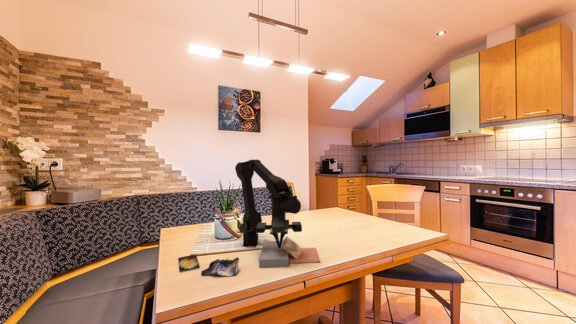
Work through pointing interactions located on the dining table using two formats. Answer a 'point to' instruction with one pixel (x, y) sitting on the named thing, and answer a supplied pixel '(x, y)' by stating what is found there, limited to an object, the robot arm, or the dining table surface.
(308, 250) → the terracotta mat
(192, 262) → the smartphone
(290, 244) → the birch tile
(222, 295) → the dining table surface
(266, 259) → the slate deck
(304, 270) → the dining table surface
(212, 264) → the snack package
